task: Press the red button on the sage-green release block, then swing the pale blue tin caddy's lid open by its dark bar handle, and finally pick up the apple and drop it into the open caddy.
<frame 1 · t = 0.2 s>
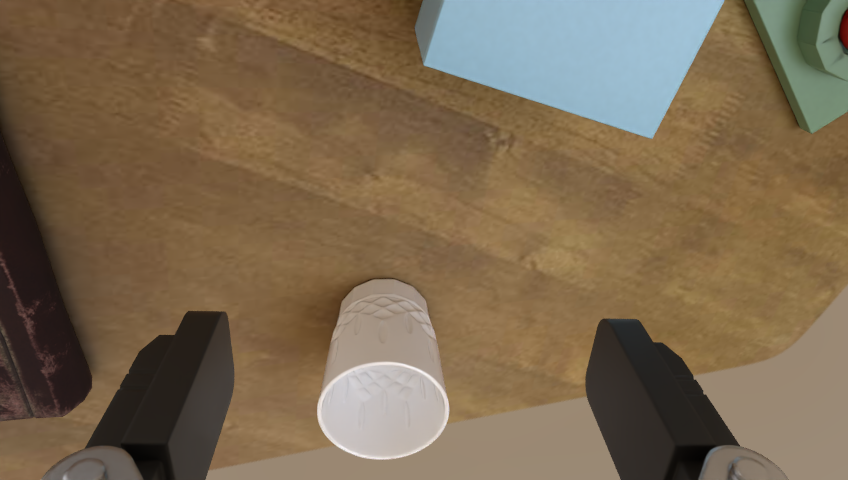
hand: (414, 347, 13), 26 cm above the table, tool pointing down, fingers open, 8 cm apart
white cup: (384, 313, 44), on the table
release block: (840, 13, 36), on the table
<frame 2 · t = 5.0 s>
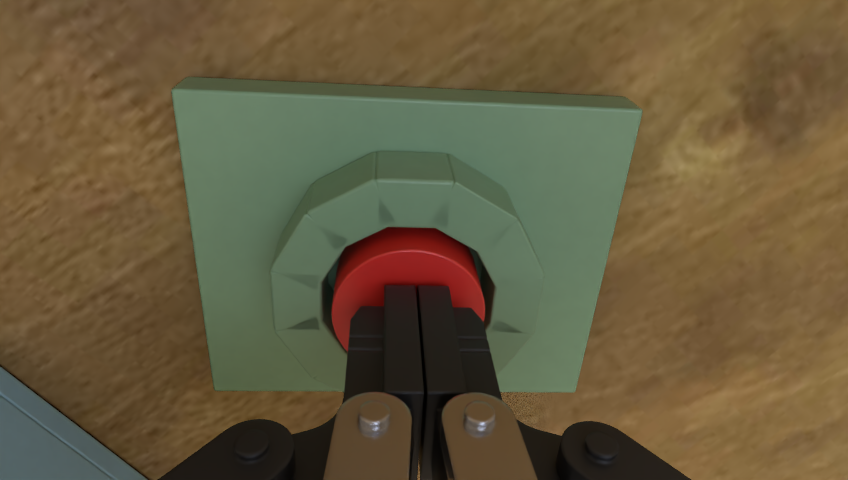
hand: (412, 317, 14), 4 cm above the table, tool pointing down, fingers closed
button: (407, 295, 15), point 3 cm above the table, slide at -0.8 cm, touching gripper
release block: (404, 244, 17), on the table
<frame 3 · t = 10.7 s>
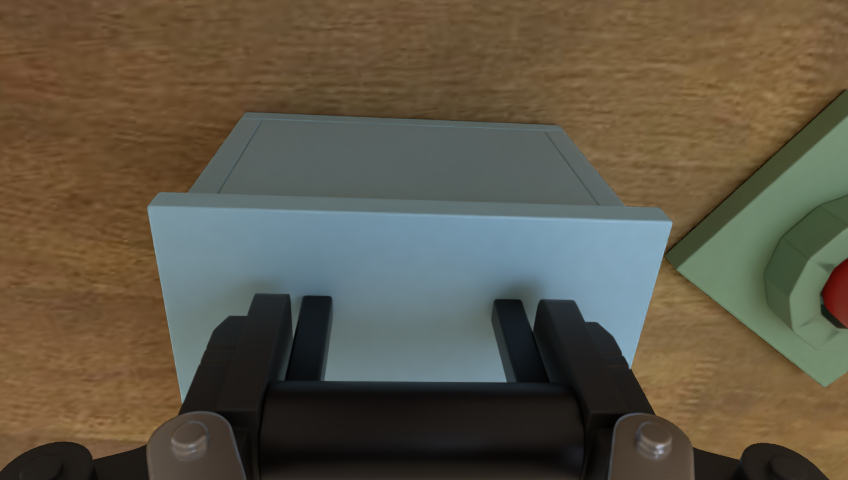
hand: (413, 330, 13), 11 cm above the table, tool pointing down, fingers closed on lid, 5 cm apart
caddy: (398, 275, 25), on the table
release block: (825, 248, 26), on the table
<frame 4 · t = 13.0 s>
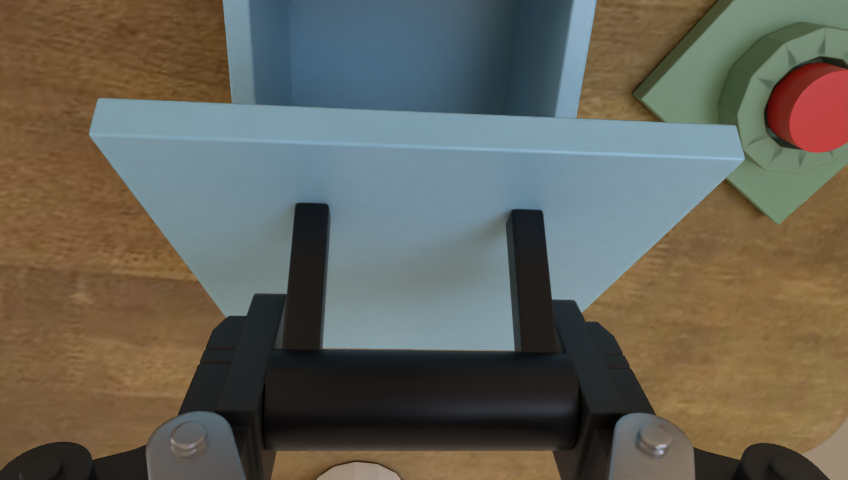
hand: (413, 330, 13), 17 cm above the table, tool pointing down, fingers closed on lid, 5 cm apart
button: (818, 107, 26), point 3 cm above the table, slide at 0.1 cm
caddy: (399, 109, 29), on the table
lid: (407, 357, 16), point 16 cm above the table, hinge at 38.6°, touching gripper
release block: (772, 89, 29), on the table
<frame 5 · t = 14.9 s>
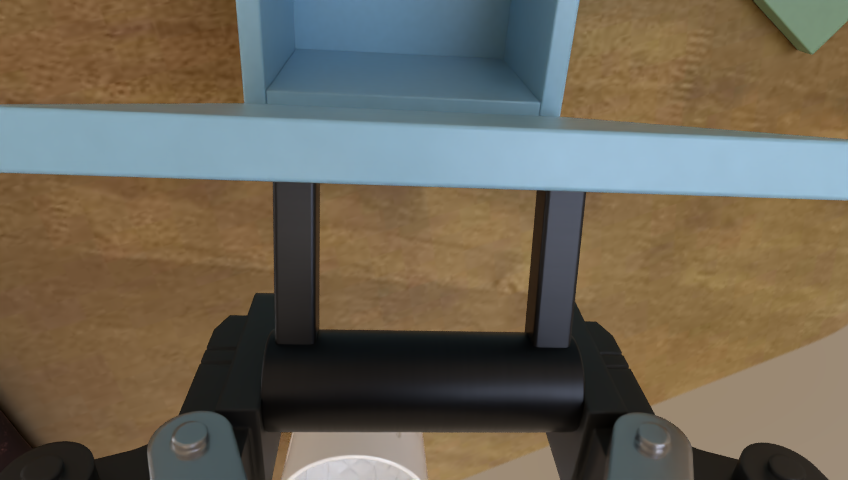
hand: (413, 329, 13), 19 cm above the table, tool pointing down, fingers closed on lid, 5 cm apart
white cup: (361, 376, 39), on the table
lid: (413, 226, 15), point 17 cm above the table, hinge at 74.9°, touching gripper
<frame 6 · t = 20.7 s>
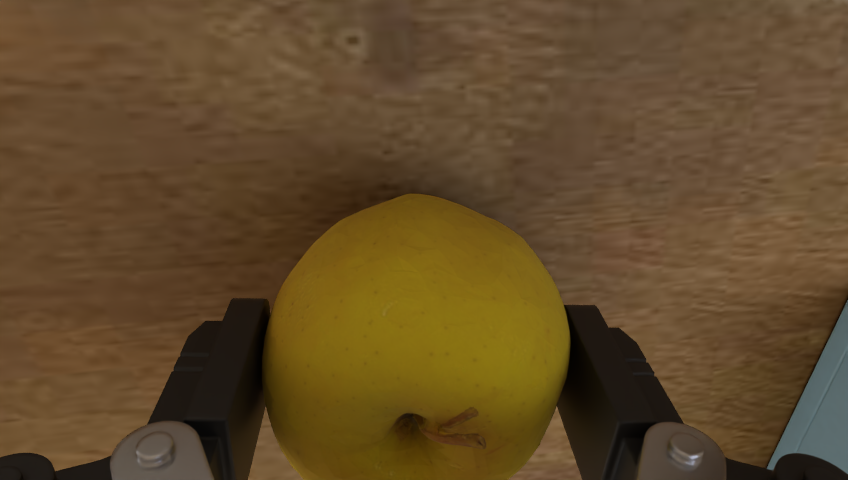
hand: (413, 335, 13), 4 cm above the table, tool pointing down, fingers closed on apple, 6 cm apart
apple: (409, 247, 17), on the table, touching gripper
when the fingers open (14 cm above the table, at t = 26.1 s): apple drops 9 cm, resting on caddy.
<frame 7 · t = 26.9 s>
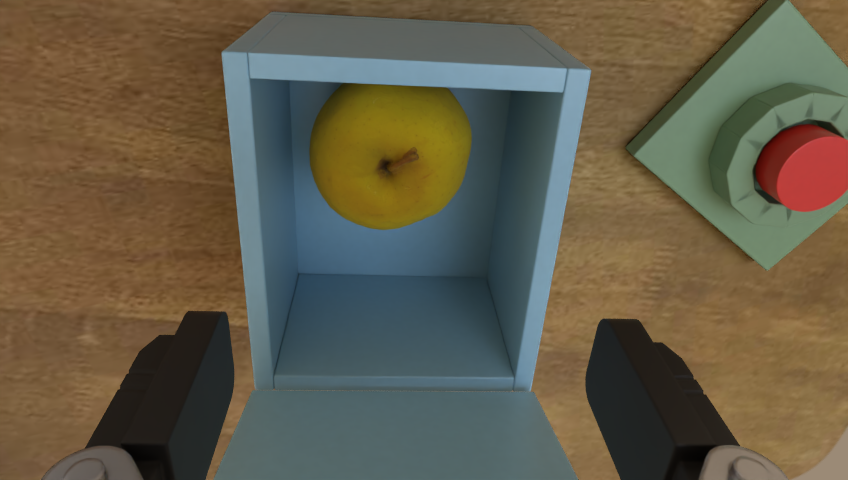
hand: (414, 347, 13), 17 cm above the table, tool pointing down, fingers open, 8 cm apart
button: (805, 168, 27), point 3 cm above the table, slide at 0.1 cm
apple: (391, 116, 28), point 1 cm above the table, touching caddy
caddy: (397, 163, 29), on the table
release block: (762, 142, 30), on the table
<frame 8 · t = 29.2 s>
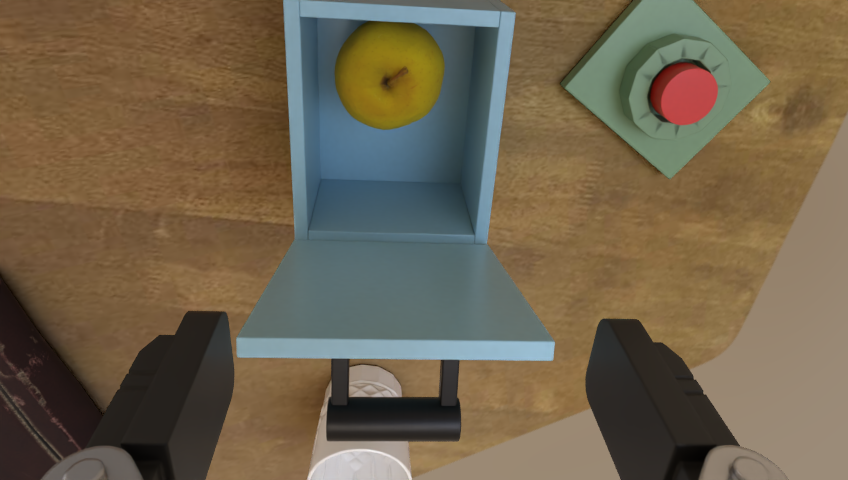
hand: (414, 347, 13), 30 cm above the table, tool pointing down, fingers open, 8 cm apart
button: (683, 93, 38), point 3 cm above the table, slide at 0.1 cm
apple: (389, 57, 39), point 1 cm above the table, touching caddy
white cup: (364, 391, 53), on the table
caddy: (394, 94, 40), on the table
lid: (393, 333, 29), point 17 cm above the table, hinge at 75.4°
release block: (661, 80, 41), on the table
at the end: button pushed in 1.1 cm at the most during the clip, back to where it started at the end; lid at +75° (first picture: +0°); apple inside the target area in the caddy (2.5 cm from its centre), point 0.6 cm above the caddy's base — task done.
